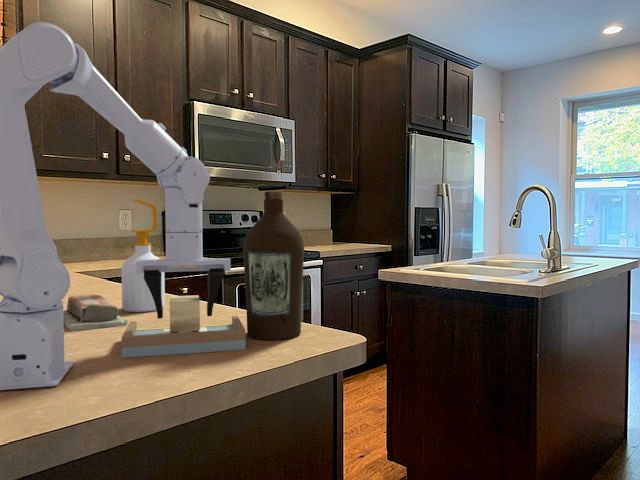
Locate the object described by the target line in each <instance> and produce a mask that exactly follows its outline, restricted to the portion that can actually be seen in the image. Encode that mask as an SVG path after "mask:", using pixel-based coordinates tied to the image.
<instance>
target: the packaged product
mask: <svg viewBox="0 0 640 480" xmlns="http://www.w3.org/2000/svg"><path fill="white" fill-rule="evenodd" d="M119 312H120V310H119V308H118V307H117V306H116V305H115V304H113V303H112V302H110V301H108V300H107V299H106V298H104V297H103V296H102V295H99V294H96V293H91V294H80V295H78V294H77V295H70V296H68V299H67V305H66V310H63V314H64V326H65V327H66V328H67V329H68V330H69V331H71V332H80V331H88V330H95V329H106V328H113V327H122V326H123V327H124V326H128V320H127V319H126V318H123V317H122V316H120V315H119Z"/></svg>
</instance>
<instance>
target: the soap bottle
mask: <svg viewBox="0 0 640 480" xmlns="http://www.w3.org/2000/svg"><path fill="white" fill-rule="evenodd" d="M133 202H134V203H137V204H139V205H142V206H146V207H149V208H151V210H152V228H151V229H137V230H136V229H132V230H131V233H135V234H136V235H135V236H136V237H138V242H135V243H134V251H135V252H134V253H133V254H132V255H130V256H129V257H128V258H127V259H125V260H124V261H123V262H122V265H121V267H120V268H121V308H122V310H123V311H124V312H128V313H150V312H151V313H152V312H157V310H156V306H155V303H154V300H153V297H152V294H151V292H150V290H149V288H148V286H147V284H146V282H145V280H144V273H136V261H137V260H155V259H160V258H159V257H158V256H156V255H154V254H153V253H152V245H151V242H148V239H147V237H149V236H150V233H154V232H155V231H156V230H157V228H158V214H157V213H158V210H157V207H156V206H155V205H153V204H152V203H149V202H145V201H142V200H138V199H134V200H133ZM165 285H166V284H165V272H161V296H162V306H163V309H164V308H165V306H166V302H165V301H166V296H165V294H166V293H165V292H166V291H165V290H166V289H165V287H166V286H165Z"/></svg>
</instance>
